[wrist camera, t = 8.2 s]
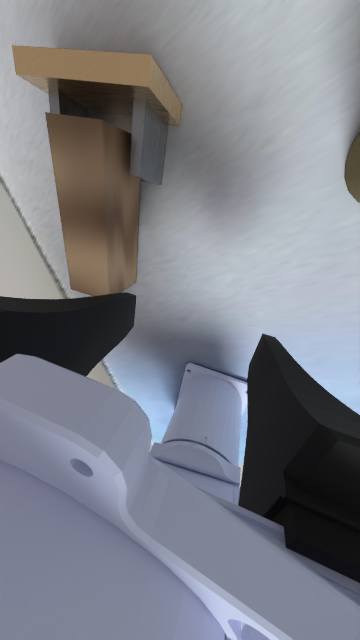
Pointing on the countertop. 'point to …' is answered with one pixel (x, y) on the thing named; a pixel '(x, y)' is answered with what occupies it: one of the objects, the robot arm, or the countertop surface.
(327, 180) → the countertop surface
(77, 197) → the tan rectangular block
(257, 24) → the countertop surface
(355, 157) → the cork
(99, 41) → the countertop surface
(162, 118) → the bracket
